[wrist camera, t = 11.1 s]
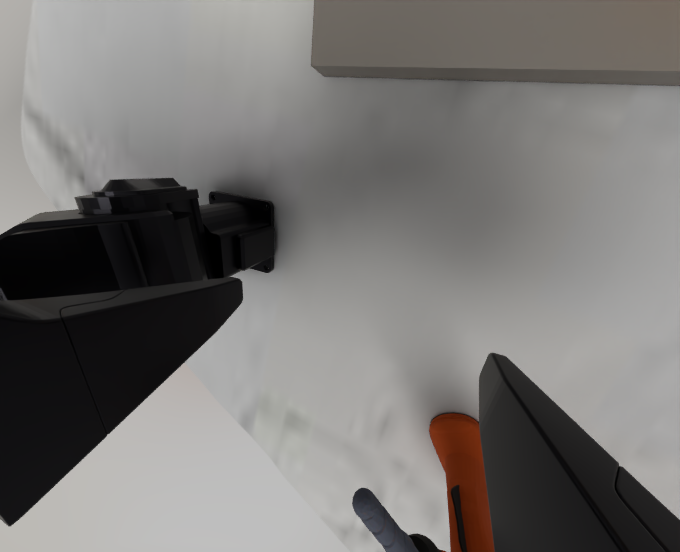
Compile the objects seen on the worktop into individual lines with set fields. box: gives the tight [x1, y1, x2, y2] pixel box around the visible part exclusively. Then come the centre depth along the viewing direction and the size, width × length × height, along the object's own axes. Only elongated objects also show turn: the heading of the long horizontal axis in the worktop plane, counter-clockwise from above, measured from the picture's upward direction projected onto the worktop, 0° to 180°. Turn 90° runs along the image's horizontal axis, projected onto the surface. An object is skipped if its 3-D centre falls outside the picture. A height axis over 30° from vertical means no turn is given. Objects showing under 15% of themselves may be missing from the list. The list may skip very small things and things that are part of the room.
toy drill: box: [352, 413, 495, 552], centre depth 17 cm, size 5×19×15 cm, turn 29°
